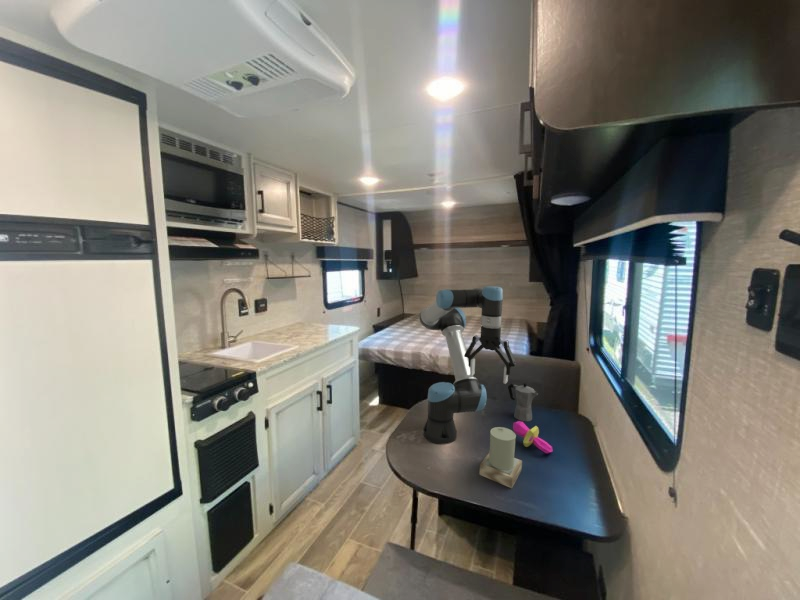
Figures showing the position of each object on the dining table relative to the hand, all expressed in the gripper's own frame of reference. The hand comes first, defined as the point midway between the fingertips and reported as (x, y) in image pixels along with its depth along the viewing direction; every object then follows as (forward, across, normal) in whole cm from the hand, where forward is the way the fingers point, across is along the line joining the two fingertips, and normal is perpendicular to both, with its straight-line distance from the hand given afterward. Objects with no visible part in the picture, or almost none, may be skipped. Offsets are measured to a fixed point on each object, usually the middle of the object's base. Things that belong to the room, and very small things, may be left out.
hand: (488, 378), depth 127 cm
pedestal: (+33, +9, -7) cm, 35 cm away
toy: (+33, +14, +18) cm, 40 cm away
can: (+29, +9, -7) cm, 31 cm away
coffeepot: (+33, +3, +42) cm, 53 cm away
